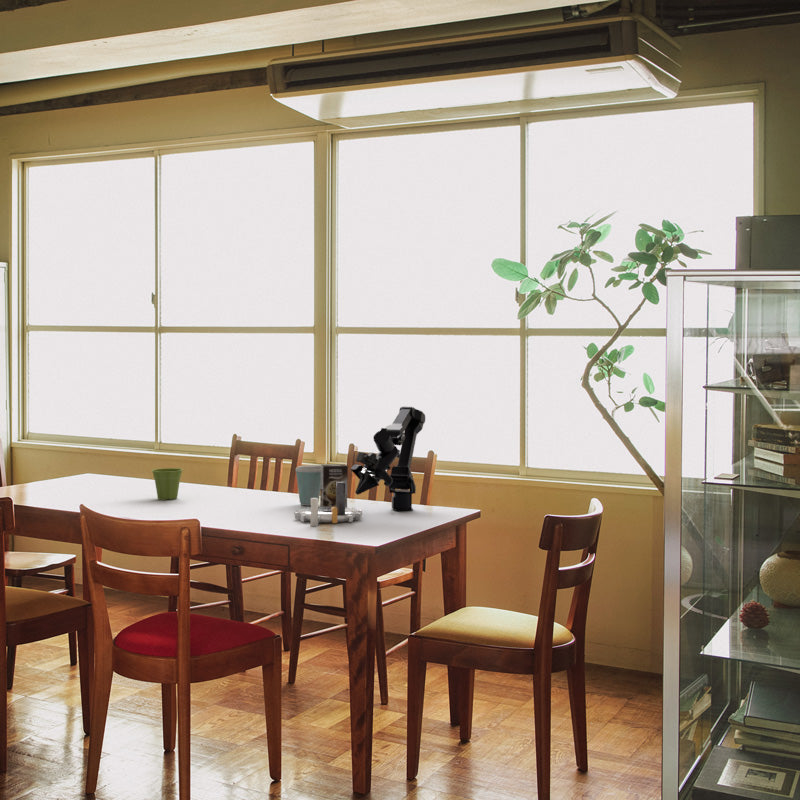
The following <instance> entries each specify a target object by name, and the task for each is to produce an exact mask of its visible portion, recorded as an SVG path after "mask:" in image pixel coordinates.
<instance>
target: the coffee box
mask: <svg viewBox="0 0 800 800" xmlns="http://www.w3.org/2000/svg"><path fill="white" fill-rule="evenodd" d="M320 465H321V490H320V496H319V502H320V503H319V504H320V505H319V507H320V506H325V507H336V482H345V507H346V508H348V475H349V474H348V472H349V471H348V467H349V466H348V465H346V464H340V463H339V464H337V463H336V464H320Z"/></svg>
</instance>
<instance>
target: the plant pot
mask: <svg viewBox="0 0 800 800" xmlns="http://www.w3.org/2000/svg"><path fill="white" fill-rule="evenodd" d="M183 470H184V469H183V468H174V467H173V468H172V467H171V468H170V467H168V468H154V469H151V472H152V474H153V478H154V482H155V483H154V484H155V489H156V495H157V499H158V500H162V501H165V500H176V499H178V495H179V488H180V481H181V477H182V473H183Z"/></svg>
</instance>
